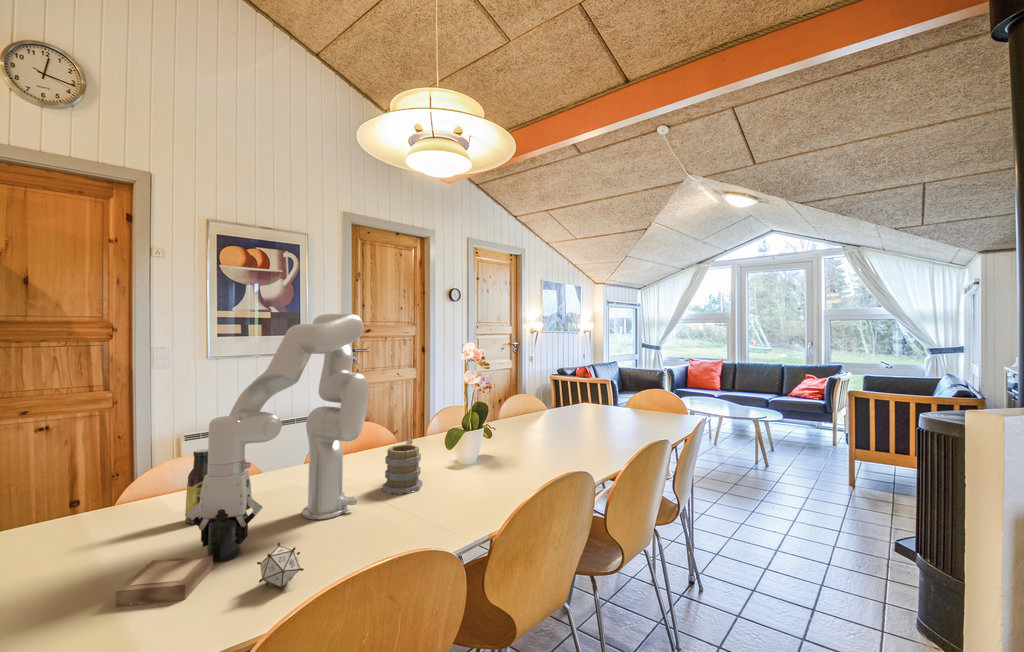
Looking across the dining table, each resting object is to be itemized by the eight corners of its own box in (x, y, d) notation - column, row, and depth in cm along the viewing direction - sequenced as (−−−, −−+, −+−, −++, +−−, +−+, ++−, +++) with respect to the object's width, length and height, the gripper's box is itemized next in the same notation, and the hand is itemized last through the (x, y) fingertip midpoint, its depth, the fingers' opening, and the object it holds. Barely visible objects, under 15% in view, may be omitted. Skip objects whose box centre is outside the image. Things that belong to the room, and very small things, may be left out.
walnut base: (212, 568, 100) (213, 554, 100) (184, 599, 88) (185, 583, 88) (152, 574, 97) (152, 559, 97) (115, 606, 86) (115, 590, 86)
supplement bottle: (236, 546, 110) (238, 498, 111) (244, 556, 106) (245, 506, 106) (204, 555, 106) (205, 505, 106) (210, 566, 101) (211, 513, 101)
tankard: (416, 494, 148) (417, 449, 148) (379, 494, 148) (380, 449, 148) (428, 476, 168) (429, 436, 168) (395, 475, 168) (396, 436, 168)
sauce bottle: (197, 526, 122) (199, 454, 123) (179, 524, 123) (181, 453, 124) (217, 516, 128) (219, 448, 129) (200, 514, 130) (202, 447, 130)
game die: (274, 600, 94) (271, 551, 100) (312, 584, 95) (308, 536, 100) (248, 600, 87) (246, 547, 92) (290, 583, 87) (286, 532, 93)
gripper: (270, 462, 112) (269, 533, 111) (193, 465, 108) (191, 538, 108) (260, 471, 104) (258, 547, 104) (177, 475, 101) (175, 553, 100)
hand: (224, 542), depth 106 cm, fingers closed on supplement bottle, 6 cm apart
